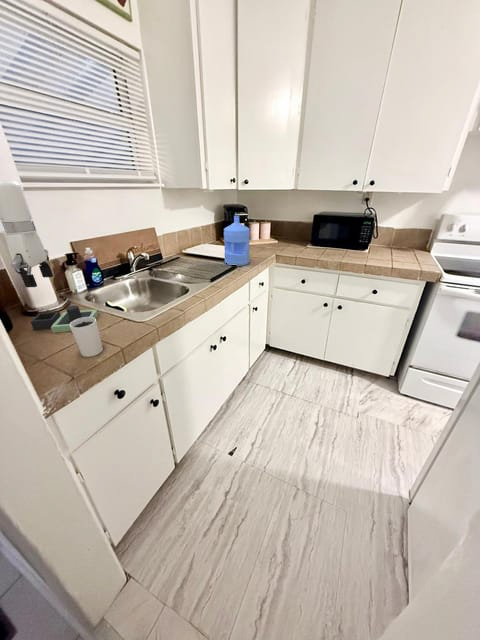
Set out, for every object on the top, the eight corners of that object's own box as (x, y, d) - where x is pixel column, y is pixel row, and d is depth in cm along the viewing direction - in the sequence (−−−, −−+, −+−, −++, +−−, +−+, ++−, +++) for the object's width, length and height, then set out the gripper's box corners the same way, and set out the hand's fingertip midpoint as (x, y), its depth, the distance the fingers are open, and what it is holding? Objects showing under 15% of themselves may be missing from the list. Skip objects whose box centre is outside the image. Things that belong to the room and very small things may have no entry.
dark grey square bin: (34, 330, 90) (30, 321, 88) (42, 321, 95) (39, 313, 94) (55, 328, 91) (51, 319, 89) (62, 319, 96) (59, 311, 95)
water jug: (230, 258, 173) (230, 213, 160) (252, 261, 168) (254, 215, 155) (220, 264, 161) (218, 216, 147) (243, 267, 155) (244, 217, 142)
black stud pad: (59, 327, 90) (54, 313, 87) (68, 316, 97) (63, 303, 94) (85, 324, 91) (81, 311, 89) (92, 314, 98) (88, 301, 96)
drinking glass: (75, 352, 78) (64, 323, 73) (96, 342, 83) (88, 314, 78) (87, 360, 74) (76, 330, 70) (108, 349, 79) (100, 320, 75)
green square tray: (52, 332, 88) (50, 327, 87) (65, 317, 98) (63, 312, 97) (89, 329, 90) (88, 323, 89) (98, 314, 100) (97, 309, 99)
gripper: (24, 223, 85) (42, 274, 93) (-16, 232, 70) (10, 291, 78) (48, 223, 86) (64, 273, 94) (14, 232, 71) (37, 290, 79)
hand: (40, 281), depth 86 cm, fingers open, 9 cm apart
